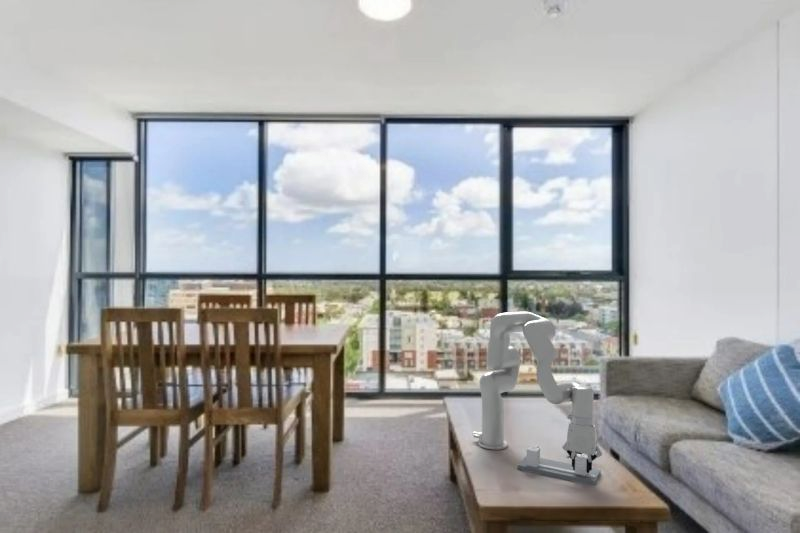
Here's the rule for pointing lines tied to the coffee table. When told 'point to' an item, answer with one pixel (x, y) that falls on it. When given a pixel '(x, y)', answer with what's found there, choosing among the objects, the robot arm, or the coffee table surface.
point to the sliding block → (581, 464)
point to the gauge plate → (555, 468)
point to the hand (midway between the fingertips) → (581, 469)
